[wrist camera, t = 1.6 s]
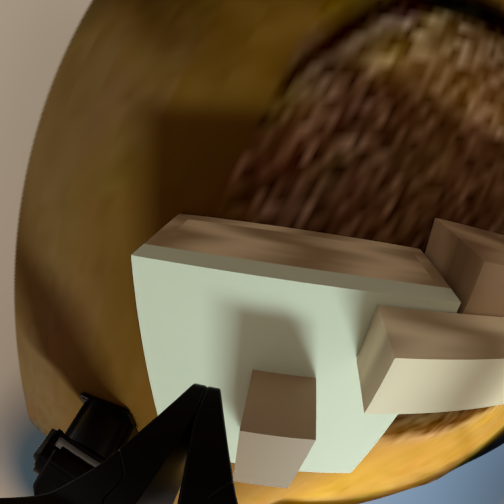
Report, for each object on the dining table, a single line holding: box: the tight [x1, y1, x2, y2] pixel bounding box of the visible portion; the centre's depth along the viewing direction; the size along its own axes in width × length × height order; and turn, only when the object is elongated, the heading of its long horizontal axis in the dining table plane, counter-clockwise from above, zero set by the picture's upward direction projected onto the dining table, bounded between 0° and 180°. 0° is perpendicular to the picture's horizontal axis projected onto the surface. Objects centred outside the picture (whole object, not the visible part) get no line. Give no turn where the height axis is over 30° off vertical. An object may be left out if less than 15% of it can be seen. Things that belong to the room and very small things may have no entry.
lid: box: [131, 244, 461, 488], centre depth 14 cm, size 14×16×6 cm
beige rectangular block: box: [356, 305, 504, 414], centre depth 10 cm, size 8×3×3 cm, turn 85°
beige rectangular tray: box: [144, 213, 504, 317], centre depth 16 cm, size 26×18×6 cm
